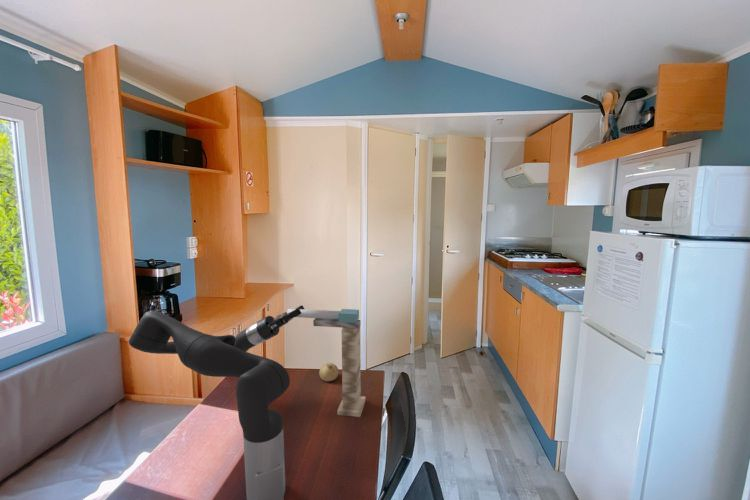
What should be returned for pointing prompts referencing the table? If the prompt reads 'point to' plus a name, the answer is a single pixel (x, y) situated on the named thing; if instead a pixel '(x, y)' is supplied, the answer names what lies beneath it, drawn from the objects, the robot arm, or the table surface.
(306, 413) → the table surface
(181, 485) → the table surface
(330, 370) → the onion
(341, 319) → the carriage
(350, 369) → the rail stand
